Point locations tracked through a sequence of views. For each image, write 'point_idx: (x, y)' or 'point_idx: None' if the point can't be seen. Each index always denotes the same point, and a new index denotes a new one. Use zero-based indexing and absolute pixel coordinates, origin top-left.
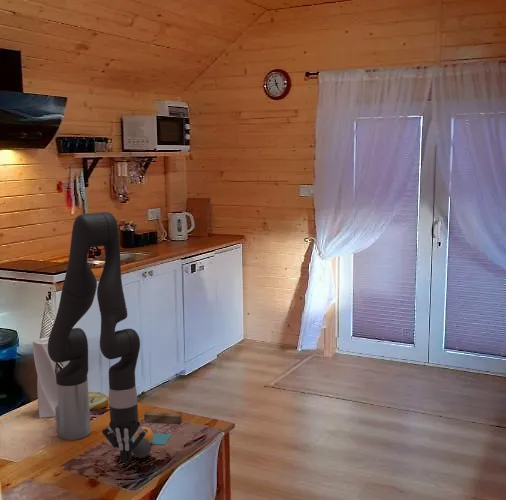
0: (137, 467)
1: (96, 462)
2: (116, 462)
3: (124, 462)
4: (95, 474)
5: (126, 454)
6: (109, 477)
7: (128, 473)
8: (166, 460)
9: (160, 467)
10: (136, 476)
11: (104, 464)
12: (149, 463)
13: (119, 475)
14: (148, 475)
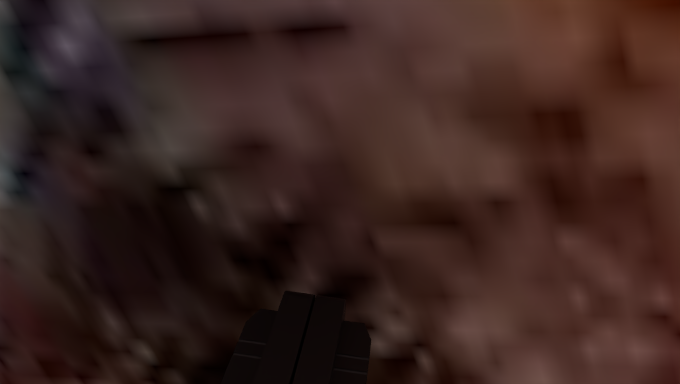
0: (212, 270)
1: (675, 361)
2: (455, 355)
3: (322, 296)
4: (651, 122)
5: (264, 366)
6: (447, 59)
7: (253, 158)
8: (23, 369)
9: (4, 269)
10: (139, 99)
11: (576, 325)
12: (136, 331)
13: (338, 112)
14: (28, 125)
